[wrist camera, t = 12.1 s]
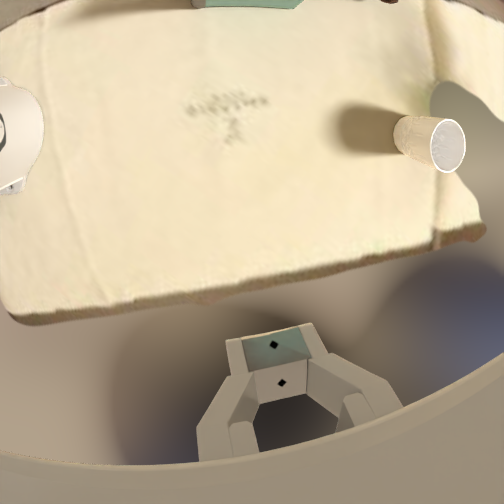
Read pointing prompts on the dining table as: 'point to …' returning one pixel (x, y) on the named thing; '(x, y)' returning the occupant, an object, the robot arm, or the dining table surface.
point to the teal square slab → (247, 3)
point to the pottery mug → (390, 1)
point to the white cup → (431, 141)
